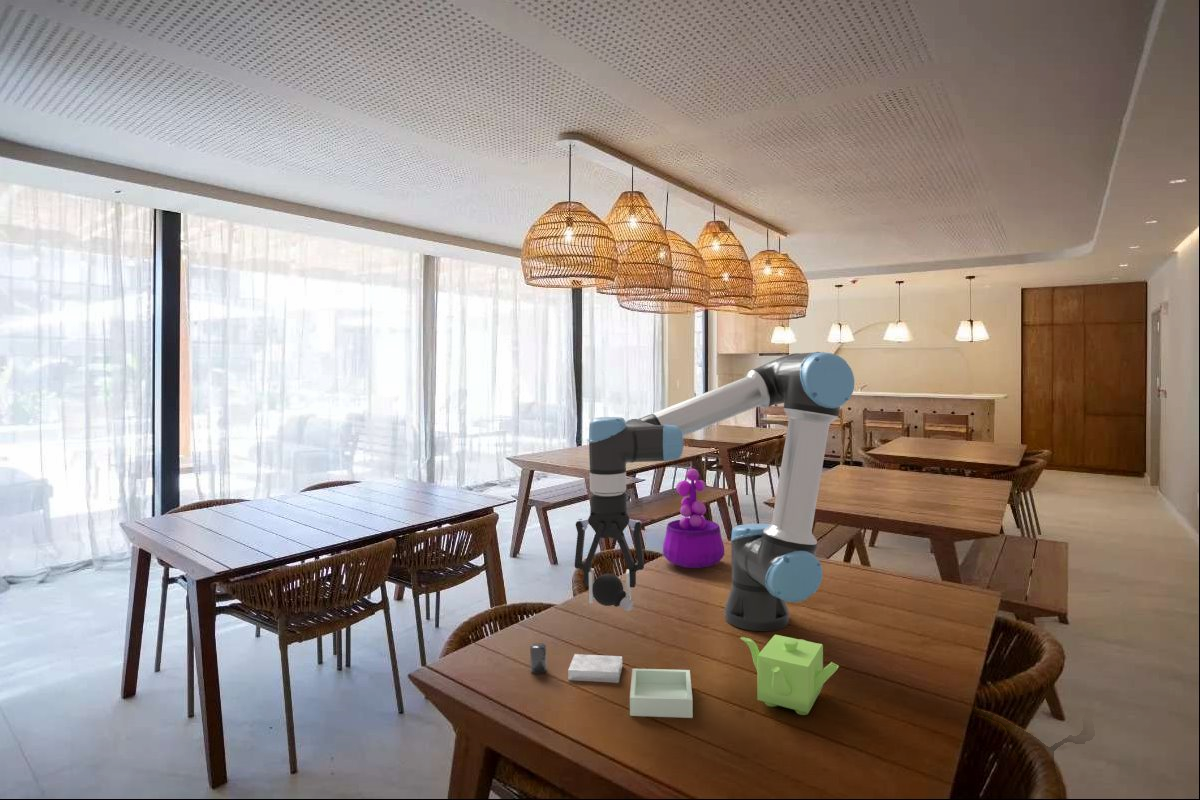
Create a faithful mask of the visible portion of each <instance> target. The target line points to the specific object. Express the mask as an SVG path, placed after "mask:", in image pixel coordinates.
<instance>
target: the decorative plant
mask: <svg viewBox="0 0 1200 800" xmlns="http://www.w3.org/2000/svg"><path fill="white" fill-rule="evenodd" d="M685 476H686V478H687V479H688V480H689V481H691V483H690V482H689V481H688V480H686V479H685V480H681V481H679V482H678V483H676V485H675V487H676V488H675V491H676V492H677V494H678V495H680V497H683V498H682V499H681V507H680V510H679V512H680V513H679V514H680V515H682V516H683V517H681V518H680V519H677V520H676V519H675V520H672V521H669V522H668V524H667V525H666V532H665V537H664V540H663V545H662V554H663V556H664V557H665V559H666V560H667V561H668V562H670V564H673V565H677V566H680V567H683V568H688V569H703V568H706V567H711V566H714V565H716V564H717V563H719V562H720V561H721V560H722V559H723V558H724V556H725V546H724V542H723V538H722V534H721V533H722V532H721V527H720V525H719V523H717V522H715V521H711V520H708V519H706V518H705V517H704V516H703V515H705V514H706V513H707V512H706V511H707V507H706V505H705V504H704V502H702V501H700V500H697V492H703V491H704V490H705V489H706V487H707V485H706V482H705V481H704V480H701V479H699V478H700V474H699V470H697V469H695V468H689V469H688V470H687V471H686V474H685ZM688 495H689V496H688Z"/></svg>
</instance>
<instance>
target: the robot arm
mask: <svg viewBox="0 0 1200 800" xmlns="http://www.w3.org/2000/svg"><path fill="white" fill-rule="evenodd" d="M854 390H855V375H854V373H853V370H852V368H851V367H850V365H849V363H848V362H847V361H846V360H845V359H844V358H843V357H841V356H839V355H837V354H834V353H831V352H824V351H815V352H804V353H803V352H801V353H799V352H797V353H796V352H794V353H791V354H790V353H789V354H786V355H783V356H781V357H778V358H776V359H774V360H772V361H770V362H767V363H765V364H763V365H760V366H759V367H756V368H754V369H751V370H749V371H748V372H747V373H746V376H745V377H743V378H740V379H737V380H735V381H731V382H729V383H727V384H724V385H722V386H719V387H716V388H715V389H712V390H709V391H706V392H703V393H701V394H699V395H696V396H693V397H691V398H688V399H686V400H684V401H681V402H678V403H675V404H672V405H671V406H668V407H665V408H664V409H663V408H662V409H660V410H657V411H655V412H653V413H651V414H647V415H645V416H642V417H640V418H631V419H627V420H625V418H624V417H621V416H602V417H595V418H592V419H591V420H590V422H589V428H588V441H587V442H588V450H589V451H588V452H589V453H588V454H589V455H588V456H589V458H588V459H589V491H590V492H591V493H590V496H589V507H590V509H589V510H590V511H589V512H590V513H589V516H588V518H584V519H582V518H579V519H577V521H575V528H576V532H577V537H576V546H575V547H576V548H575V556H574V557H575V558H574V568H575V569H576V570H577V569H580V570H582V572H583V586H584V587H588V603H589V604H594V601H595V600H596V599H595V598H594V596H593V592H592V588H593V584H594V582H595V568H592V563H593V561H594V558H595V555H596V552H597V549H598V546H599V544H600V541H601V539H606V538H610V539H616V542H617V543H618V546H619V549H620V550H621V553H622V556H623V558H624V561H625V563H626V566H627V569H626V571H625V592H626V597H627V598H628V599H630V600H631V601H632V588H635V587H636V585H637V571H641V570H642V571H643V569H644V568H645V558H644V556H645V555H644V549H643V542H642V534H641V529H642V523H643V522H642V520H641V519H637V520H636V519H632V518H630V517H629V515H628V511H627V510H628V507H627V503H628V502H627V501H628V500H627V499H628V498H627V493H625V492H626V490H627V463H631V464H632V463H644V462H645V463H646V462H647V463H649V462H664V463H665V462H668V461H677V460H679V459H680V458H681V457H682V455H683V451H684V437H685V436H687V435H690V434H692V433H695V432H698V431H700V430H702V429H703V430H704V429H705V428H708V427H710V426H712V425H715V424H717V423H718V424H719V423H720V422H722V421H725V420H728V419H730V418H733V417H735V416H737V415H741V414H742V413H743V414H744V413H745V412H747V411H750V410H753V409H756V408H761V409H768V408H769V407H772V406H776V405H781V404H783V412H784V413H785V414H786V415H787V418H788V422H787V430H786V435H785V441H784V446H783V452H782V453H783V454H782V458H781V466H780V471H779V476H778V484H777V489H776V494H775V502H774V507H773V514H772V519H771V523H745V524H739V525H736V526H733V528H732V529H731V539H730V545H731V548H730V549H731V550H730V551H731V552H730V553H731V558H730V559H731V587H730V590H729V593H728V595H727V596H728V597H727V599H726V603H725V605H724V620H726V621H727V623H729V624H730V625H732V626H733V627H737V628H739V629H742V630H747V631H753V632H754V631H755V632H771V631H773V632H774V631H777V630H782V629H784V628H785V627H787V626H788V625H789V623H790V612H789V609H788V605H787V603H799V602H803V601H805V600H807V599H808V598H810V596H813V595H814V594H815V593H816V592H817V590H818V589H819V588H820V586H821V584H822V581H823V574H824V573H823V567H822V564H821V563H820V560H819V559H818V557H816V552H817V548H818V546H817V545H818V540H817V539H816V537H815V536H814V534H813V533H812V530H813V525H814V520H815V514H816V513H815V512H816V508H817V504H818V503H817V502H818V501H817V500H818V495H819V489H820V485H821V484H820V483H821V477H822V473H823V466H824V460H825V454H826V453H825V452H826V449H827V447H826V446H827V444H828V443H827V442H828V436H829V430H830V429H829V428H830V425H831V424H832V423H834V421H836V420H838V419H839V414H840V410H841V406H844V405H845V404H846V403H847V401H849V400H850V398H851V397H852V396H853V393H854ZM588 525H590V527H591V529H592V530H593V531H594V533H595V534H594V537H593V540H592V543H591V545H590V547H589V551H588V554H587V557H586V560H585V561H583V556H584V546H585V535H586V530H587V529H588ZM628 526H629V527H630V530H631V531H632V532H633V540H634V550H635V555H636V556H635V557H636V562H635V560H634V558H633V555H632V552H631V550H630V547H629V545H628V542H627V540H626V536H625V533H624V531H625V529H626V527H628Z"/></svg>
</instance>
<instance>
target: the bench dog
mask: <svg viewBox="0 0 1200 800" xmlns="http://www.w3.org/2000/svg"><path fill="white" fill-rule="evenodd" d="M529 656H530V657H529V659H530V661H529V663H530V672H531V673H532V674H534V675H540V674H545V672H546V671H547V646H546V644H545V643H543V642H535V643H532V644H530V646H529Z"/></svg>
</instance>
